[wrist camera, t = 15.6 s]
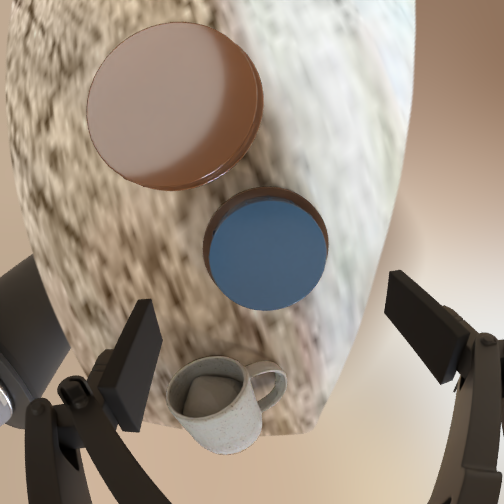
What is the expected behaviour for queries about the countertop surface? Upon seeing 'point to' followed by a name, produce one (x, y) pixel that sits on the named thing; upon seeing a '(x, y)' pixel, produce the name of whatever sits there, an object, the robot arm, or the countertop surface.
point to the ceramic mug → (222, 401)
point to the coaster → (249, 195)
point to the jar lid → (267, 253)
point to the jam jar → (175, 106)
